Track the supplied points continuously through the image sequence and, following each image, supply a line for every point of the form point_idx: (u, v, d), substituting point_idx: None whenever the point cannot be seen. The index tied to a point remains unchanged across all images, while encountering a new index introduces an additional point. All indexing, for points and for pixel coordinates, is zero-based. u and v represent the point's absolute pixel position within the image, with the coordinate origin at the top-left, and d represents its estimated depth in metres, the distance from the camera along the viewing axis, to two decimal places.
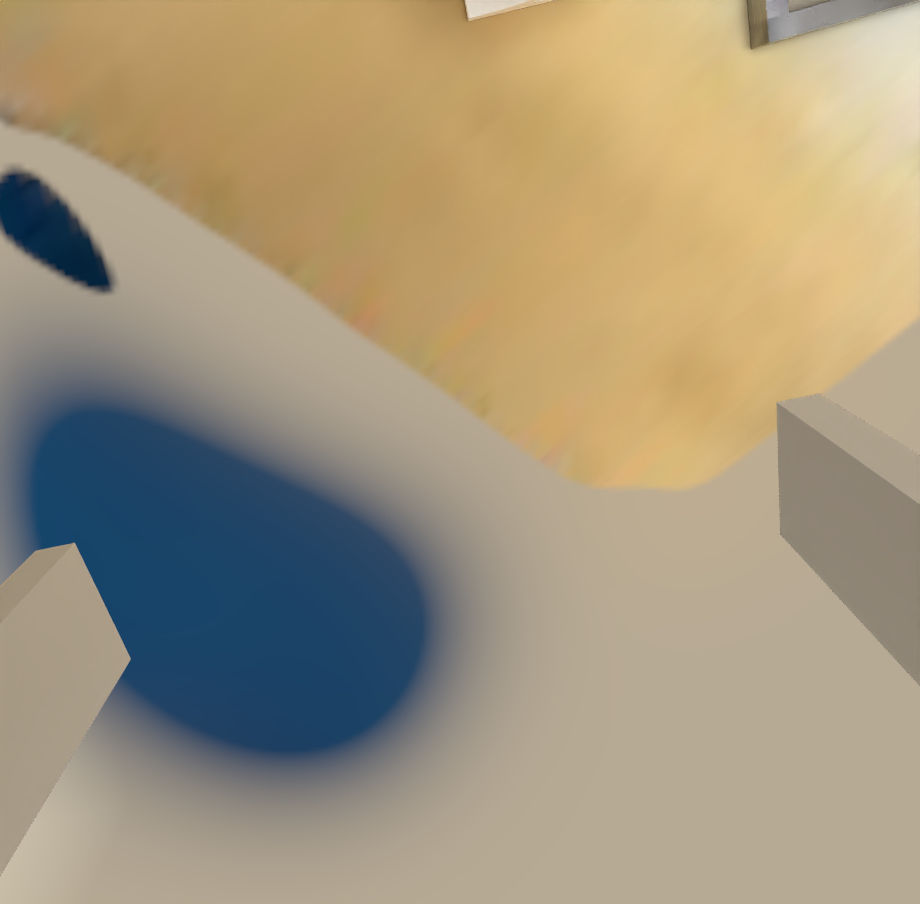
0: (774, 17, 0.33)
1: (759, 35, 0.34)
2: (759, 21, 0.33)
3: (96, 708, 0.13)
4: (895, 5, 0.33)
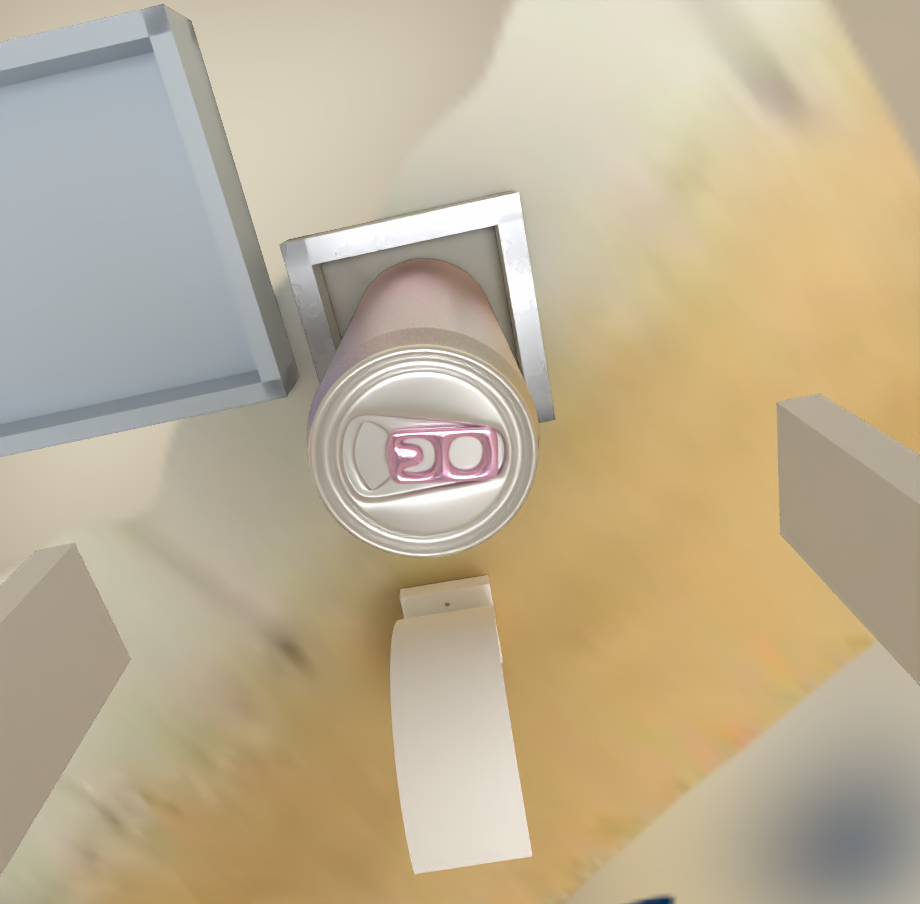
0: None
1: None
2: None
3: (96, 707, 0.13)
4: (532, 286, 0.28)
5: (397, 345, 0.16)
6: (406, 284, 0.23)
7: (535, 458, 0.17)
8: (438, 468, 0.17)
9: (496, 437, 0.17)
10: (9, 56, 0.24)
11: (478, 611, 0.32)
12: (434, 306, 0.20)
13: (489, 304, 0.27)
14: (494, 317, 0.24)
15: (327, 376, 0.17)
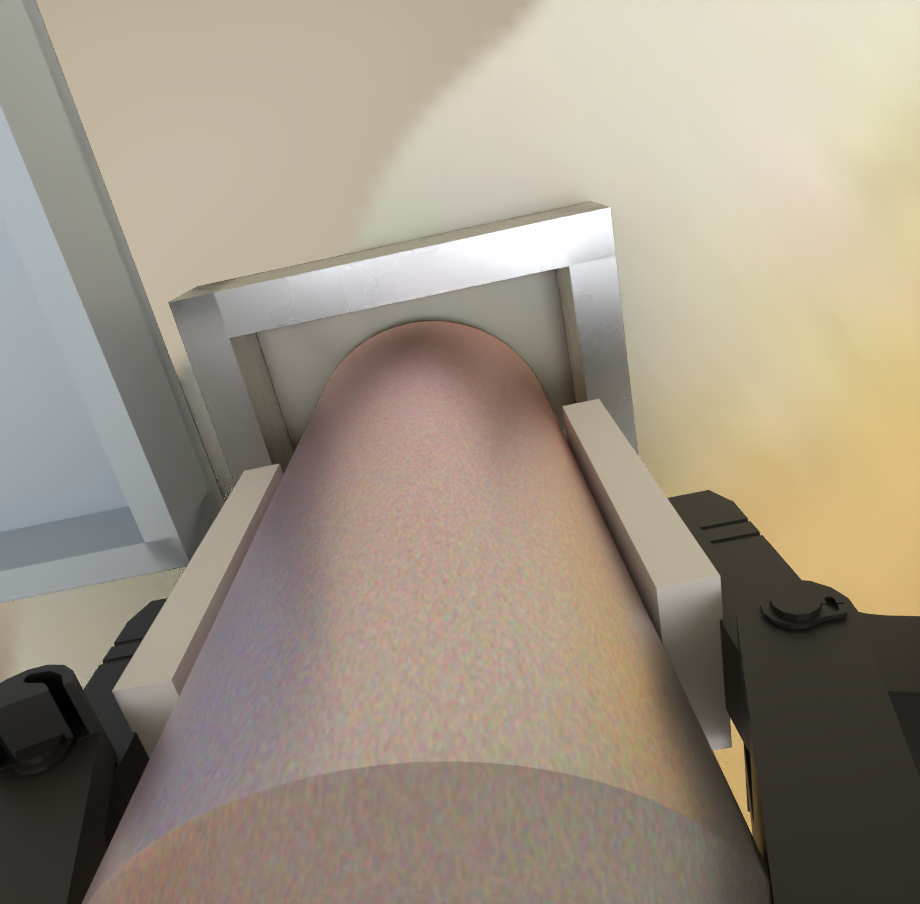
0: None
1: None
2: None
3: None
4: (626, 373, 0.16)
5: (329, 893, 0.04)
6: (396, 412, 0.11)
7: None
8: None
9: None
10: None
11: None
12: (464, 543, 0.07)
13: (553, 414, 0.15)
14: (578, 469, 0.12)
15: None
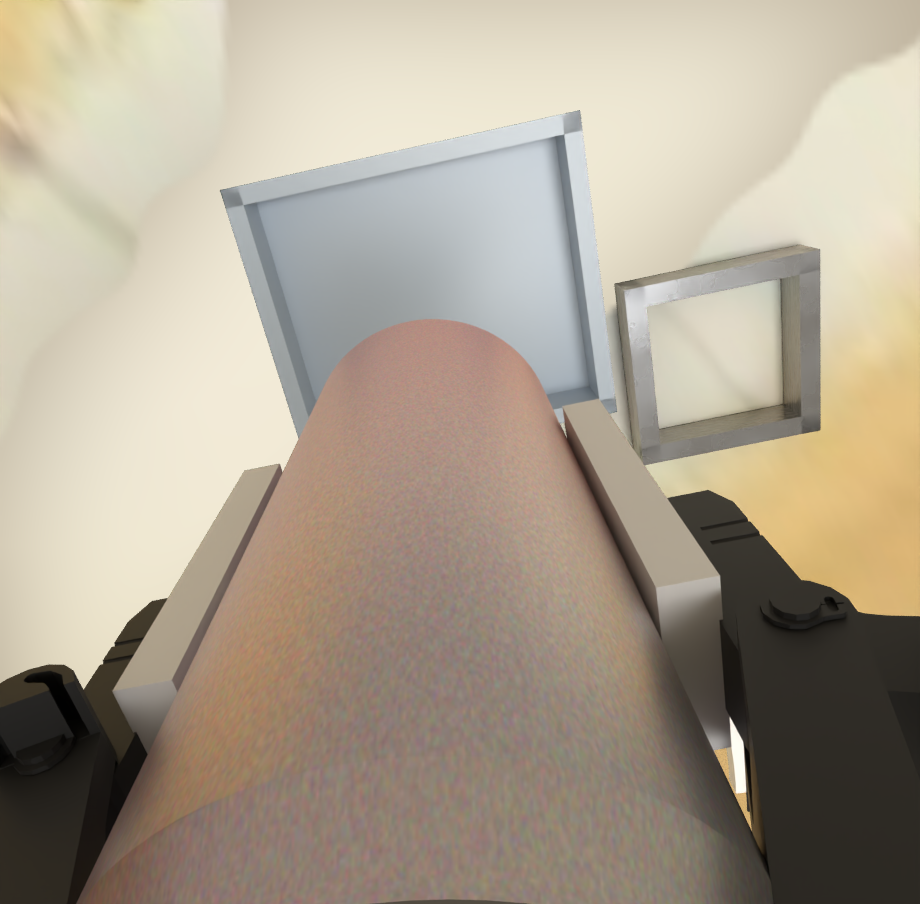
0: (801, 427, 0.37)
1: None
2: None
3: None
4: (819, 323, 0.35)
5: (326, 888, 0.04)
6: (395, 409, 0.11)
7: None
8: None
9: None
10: (454, 149, 0.31)
11: None
12: (462, 539, 0.07)
13: (553, 412, 0.15)
14: (578, 467, 0.12)
15: None
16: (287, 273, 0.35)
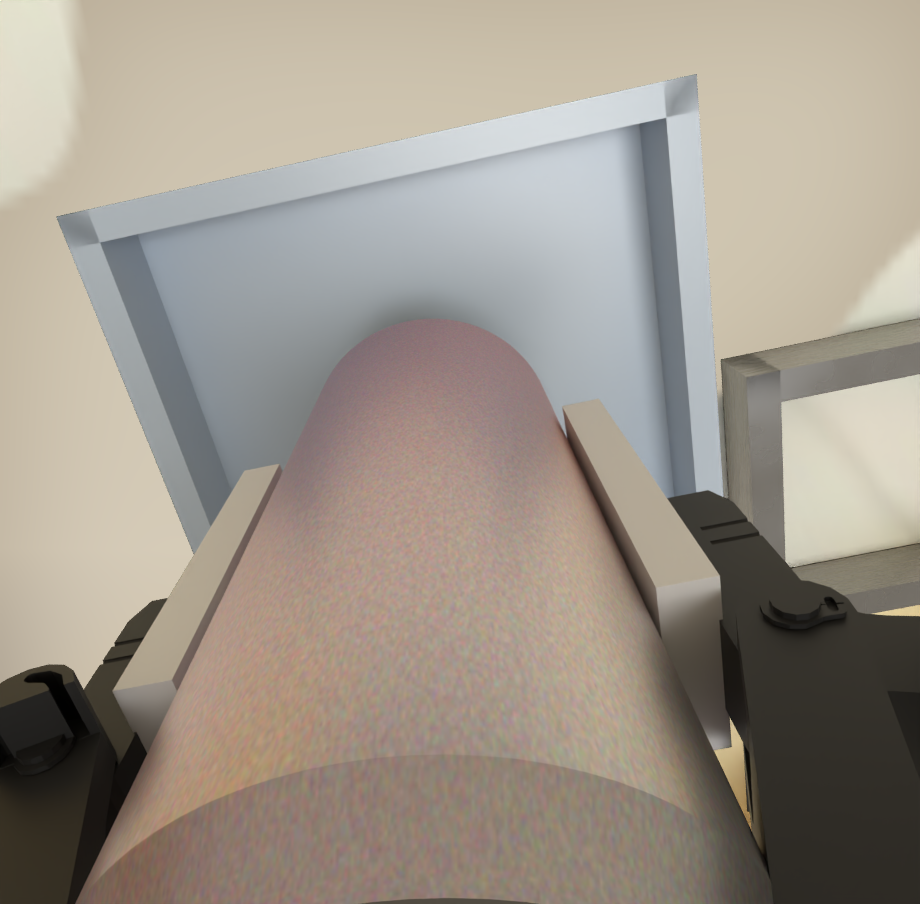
0: None
1: None
2: None
3: None
4: None
5: (325, 886, 0.04)
6: (395, 409, 0.11)
7: None
8: None
9: None
10: (471, 145, 0.17)
11: None
12: (462, 538, 0.07)
13: (553, 412, 0.15)
14: (577, 466, 0.12)
15: (86, 903, 0.05)
16: (195, 347, 0.21)
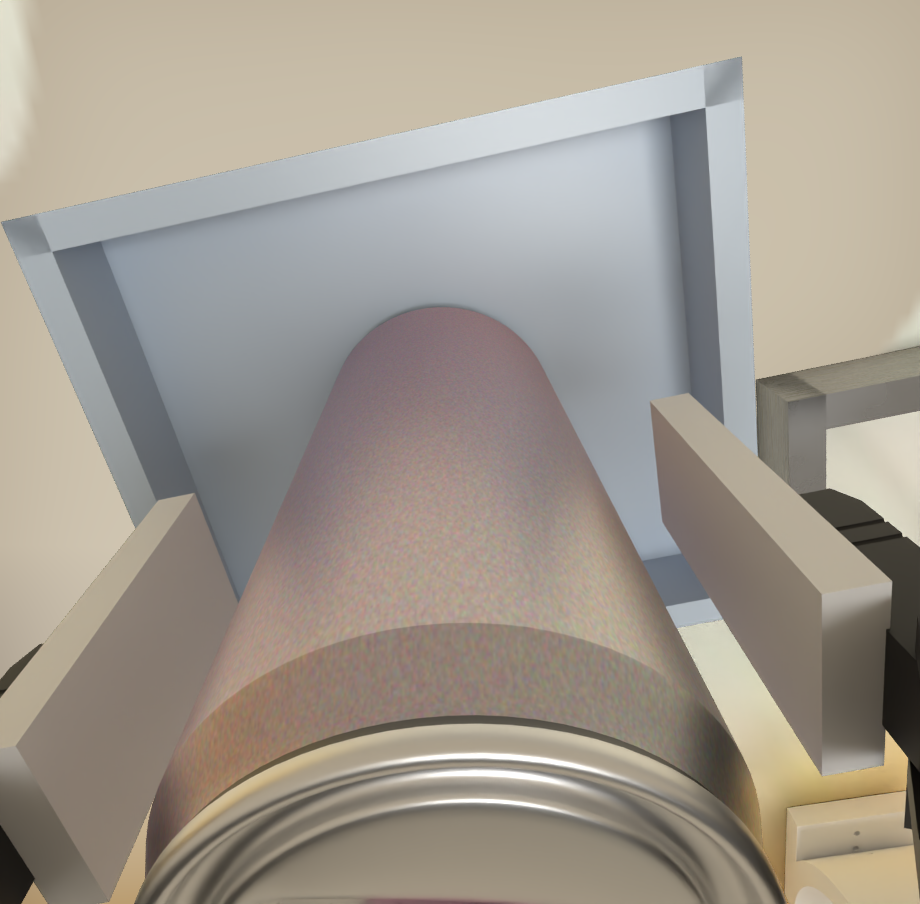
0: None
1: None
2: None
3: (216, 644, 0.14)
4: None
5: (383, 709, 0.05)
6: (412, 382, 0.12)
7: None
8: None
9: None
10: (479, 139, 0.15)
11: None
12: (478, 480, 0.08)
13: (554, 391, 0.16)
14: (576, 436, 0.13)
15: (187, 747, 0.06)
16: (168, 367, 0.19)
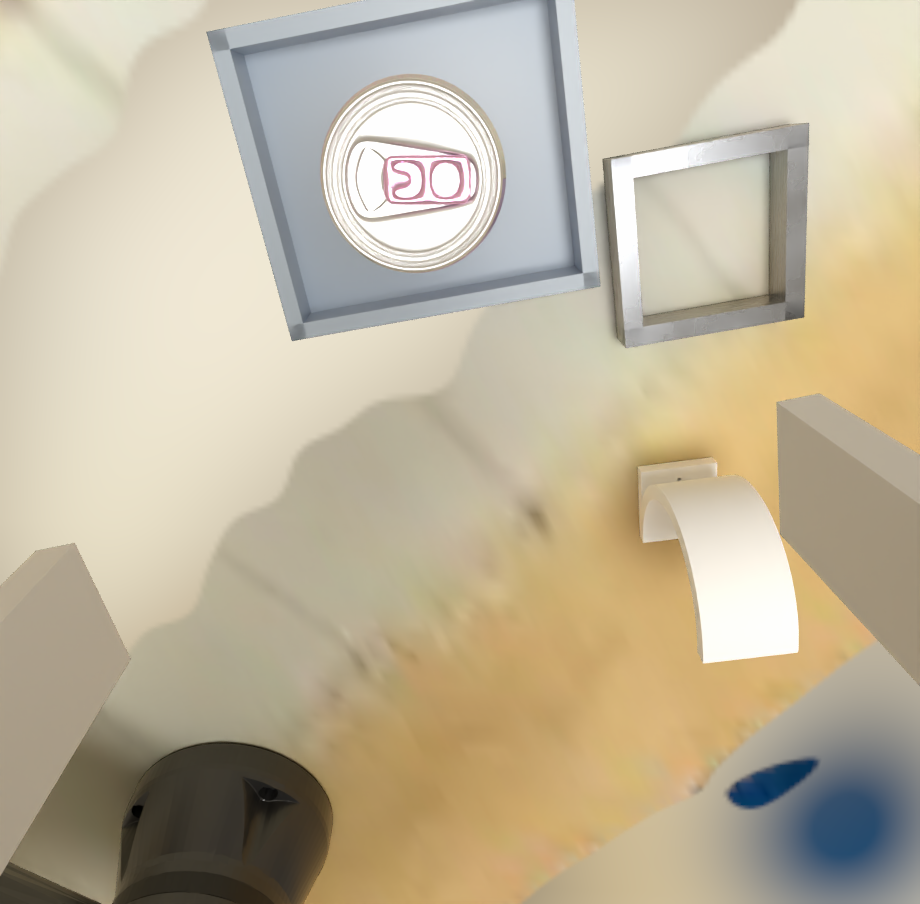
0: (785, 314, 0.37)
1: None
2: None
3: (97, 708, 0.13)
4: (806, 202, 0.35)
5: None
6: None
7: (500, 184, 0.22)
8: (423, 190, 0.22)
9: (470, 165, 0.22)
10: None
11: (724, 476, 0.39)
12: None
13: None
14: None
15: (337, 113, 0.22)
16: (274, 133, 0.35)
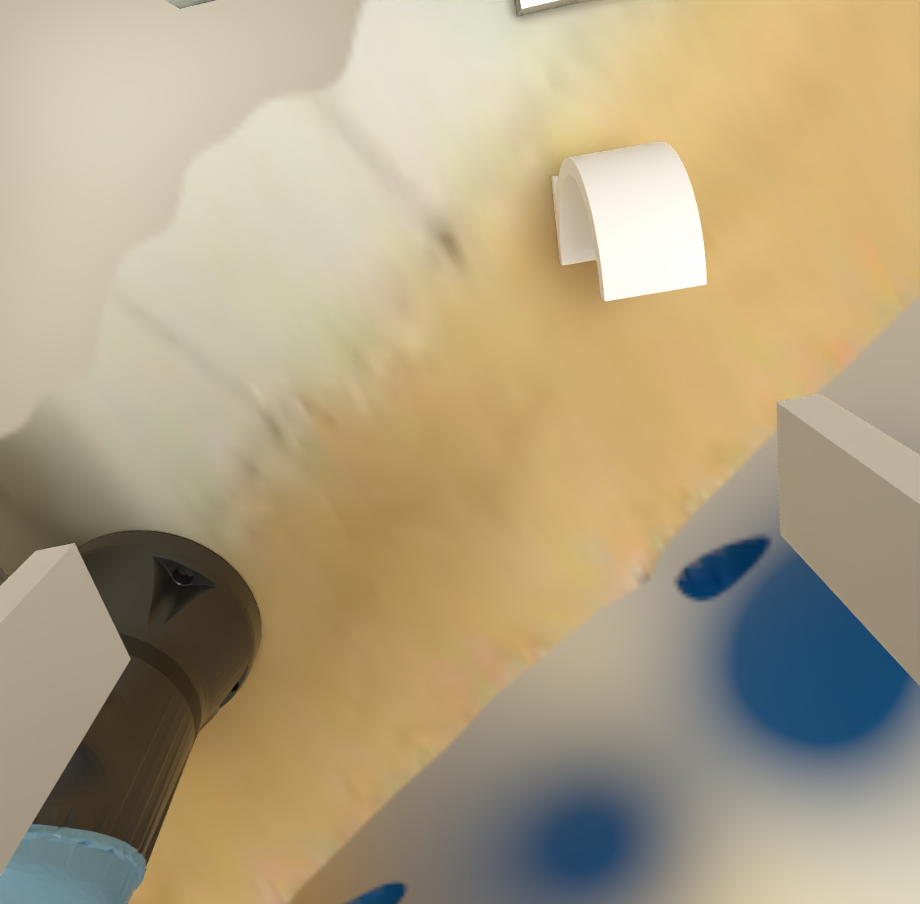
0: None
1: None
2: None
3: (96, 708, 0.13)
4: None
5: None
6: None
7: None
8: None
9: None
10: None
11: None
12: None
13: None
14: None
15: None
16: None
